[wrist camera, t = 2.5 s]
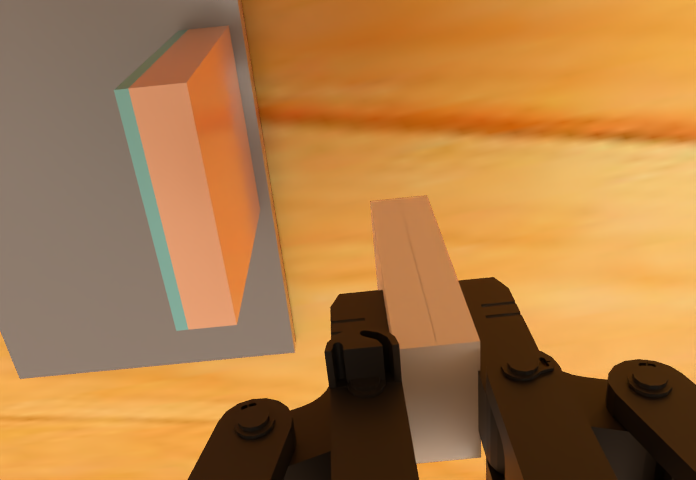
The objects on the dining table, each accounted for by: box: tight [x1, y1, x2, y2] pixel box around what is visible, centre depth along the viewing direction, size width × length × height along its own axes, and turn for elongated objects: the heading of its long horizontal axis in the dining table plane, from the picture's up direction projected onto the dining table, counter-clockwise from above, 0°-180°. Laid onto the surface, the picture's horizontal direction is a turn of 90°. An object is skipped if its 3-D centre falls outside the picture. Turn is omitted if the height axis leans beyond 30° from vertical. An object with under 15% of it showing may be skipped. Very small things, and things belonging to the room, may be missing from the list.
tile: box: [114, 25, 260, 331], centre depth 24 cm, size 8×2×9 cm, turn 5°
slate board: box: [0, 0, 296, 379], centre depth 28 cm, size 24×14×1 cm, turn 5°
